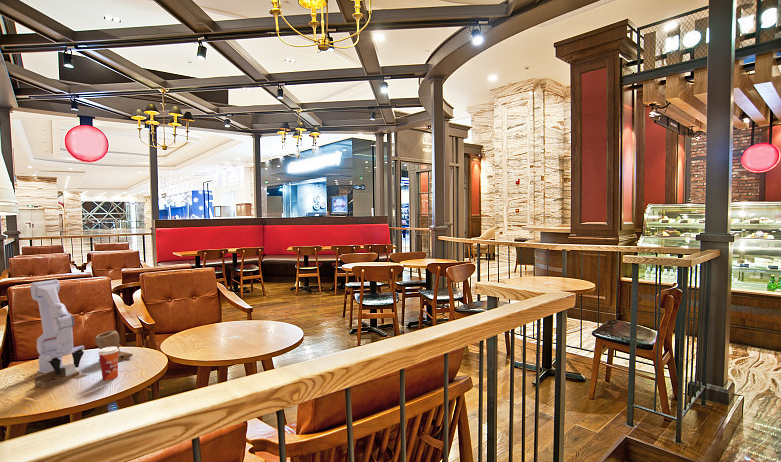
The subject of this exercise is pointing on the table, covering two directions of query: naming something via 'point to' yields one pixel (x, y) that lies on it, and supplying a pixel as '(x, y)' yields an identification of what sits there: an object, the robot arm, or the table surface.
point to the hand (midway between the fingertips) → (67, 370)
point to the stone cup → (111, 343)
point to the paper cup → (109, 362)
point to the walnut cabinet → (53, 379)
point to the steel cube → (67, 370)
